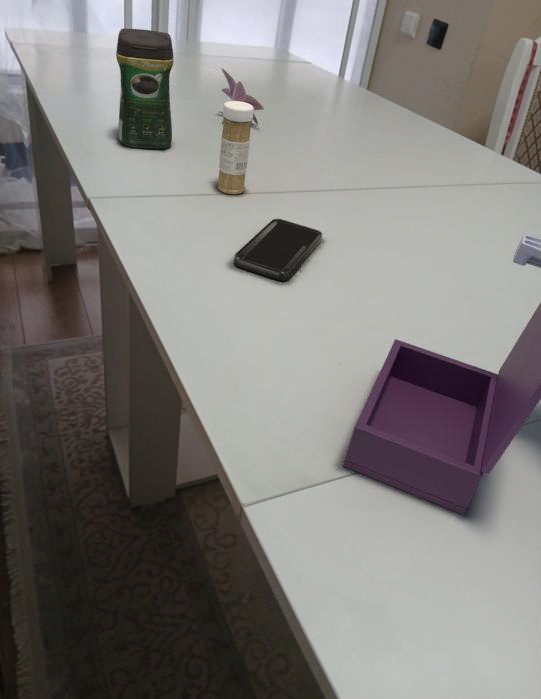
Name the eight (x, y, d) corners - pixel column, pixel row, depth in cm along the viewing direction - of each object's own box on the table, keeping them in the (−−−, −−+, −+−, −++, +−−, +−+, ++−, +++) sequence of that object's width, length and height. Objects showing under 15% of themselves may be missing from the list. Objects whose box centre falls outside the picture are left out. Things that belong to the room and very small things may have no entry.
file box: (342, 466, 52) (354, 426, 49) (383, 375, 63) (395, 338, 60) (462, 515, 49) (483, 476, 46) (483, 411, 60) (500, 374, 58)
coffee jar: (170, 137, 114) (174, 29, 102) (172, 152, 107) (176, 38, 96) (118, 133, 111) (116, 22, 100) (117, 148, 105) (114, 31, 94)
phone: (231, 257, 77) (275, 217, 88) (230, 265, 77) (274, 224, 89) (288, 275, 75) (325, 232, 86) (287, 283, 75) (323, 239, 87)
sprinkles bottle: (237, 183, 100) (246, 99, 92) (249, 194, 97) (259, 109, 89) (212, 185, 98) (219, 99, 90) (223, 196, 95) (231, 109, 87)
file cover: (555, 362, 39) (564, 365, 39) (559, 271, 50) (566, 274, 50) (480, 471, 46) (488, 475, 46) (498, 370, 57) (504, 373, 57)
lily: (260, 140, 123) (280, 95, 121) (209, 112, 118) (229, 65, 116) (243, 139, 133) (261, 97, 131) (196, 113, 128) (214, 70, 126)
